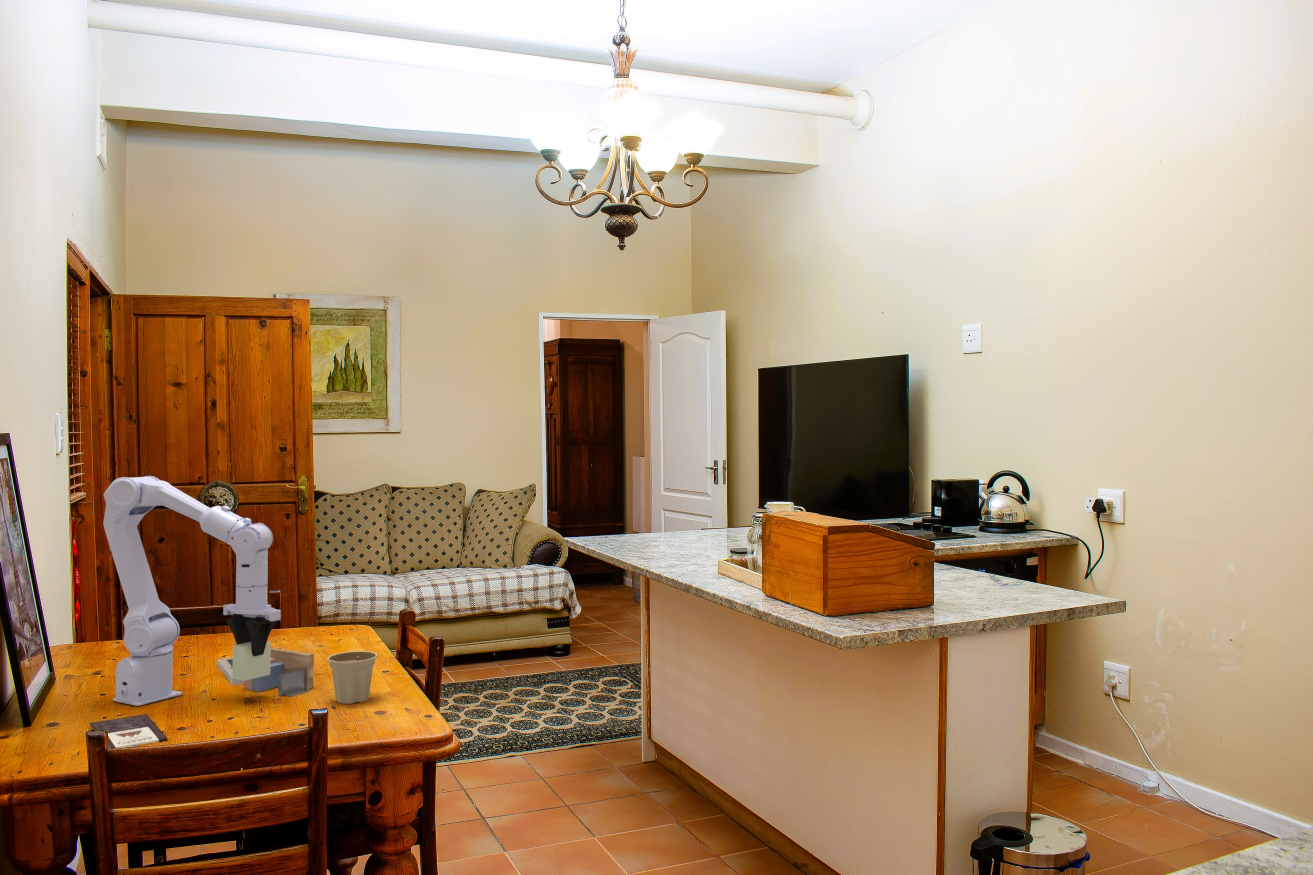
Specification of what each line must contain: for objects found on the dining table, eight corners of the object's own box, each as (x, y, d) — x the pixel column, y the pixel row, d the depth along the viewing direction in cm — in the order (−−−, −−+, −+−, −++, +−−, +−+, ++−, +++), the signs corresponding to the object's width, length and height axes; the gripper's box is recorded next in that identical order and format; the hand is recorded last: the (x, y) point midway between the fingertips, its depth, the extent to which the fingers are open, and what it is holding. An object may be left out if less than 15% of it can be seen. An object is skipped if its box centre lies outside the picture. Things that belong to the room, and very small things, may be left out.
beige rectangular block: (244, 680, 177) (244, 647, 177) (232, 678, 178) (233, 645, 179) (270, 674, 182) (270, 642, 182) (258, 672, 184) (259, 640, 184)
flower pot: (323, 707, 174) (323, 662, 174) (330, 694, 183) (331, 651, 183) (374, 705, 176) (374, 660, 176) (379, 692, 185) (379, 650, 185)
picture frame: (310, 678, 199) (289, 659, 216) (310, 665, 199) (289, 648, 216) (232, 688, 190) (217, 668, 208) (232, 674, 190) (217, 655, 208)
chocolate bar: (146, 713, 168) (167, 737, 154) (146, 719, 168) (167, 743, 154) (89, 722, 162) (106, 748, 148) (89, 727, 162) (106, 754, 148)
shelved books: (259, 691, 185) (259, 666, 185) (243, 688, 188) (243, 663, 188) (284, 684, 191) (284, 660, 191) (267, 681, 193) (268, 657, 193)
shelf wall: (307, 689, 187) (307, 655, 187) (267, 681, 193) (268, 648, 193) (313, 687, 189) (313, 653, 189) (273, 680, 194) (274, 647, 194)
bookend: (288, 697, 181) (288, 676, 181) (278, 695, 183) (278, 675, 183) (312, 690, 187) (312, 670, 187) (302, 688, 188) (302, 668, 188)
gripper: (293, 585, 181) (293, 653, 180) (245, 580, 187) (244, 646, 187) (263, 590, 174) (262, 661, 174) (214, 584, 181) (213, 652, 181)
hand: (251, 653), depth 180 cm, fingers closed on beige rectangular block, 3 cm apart
